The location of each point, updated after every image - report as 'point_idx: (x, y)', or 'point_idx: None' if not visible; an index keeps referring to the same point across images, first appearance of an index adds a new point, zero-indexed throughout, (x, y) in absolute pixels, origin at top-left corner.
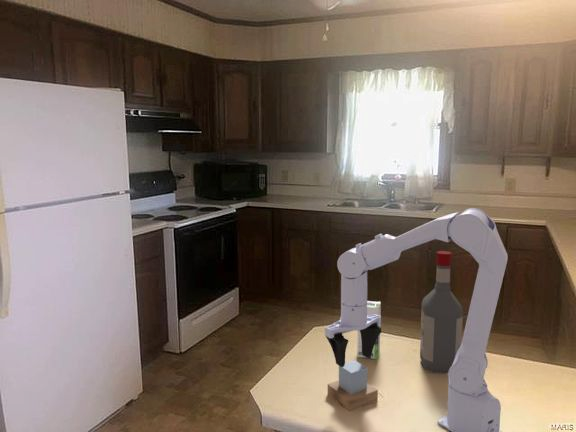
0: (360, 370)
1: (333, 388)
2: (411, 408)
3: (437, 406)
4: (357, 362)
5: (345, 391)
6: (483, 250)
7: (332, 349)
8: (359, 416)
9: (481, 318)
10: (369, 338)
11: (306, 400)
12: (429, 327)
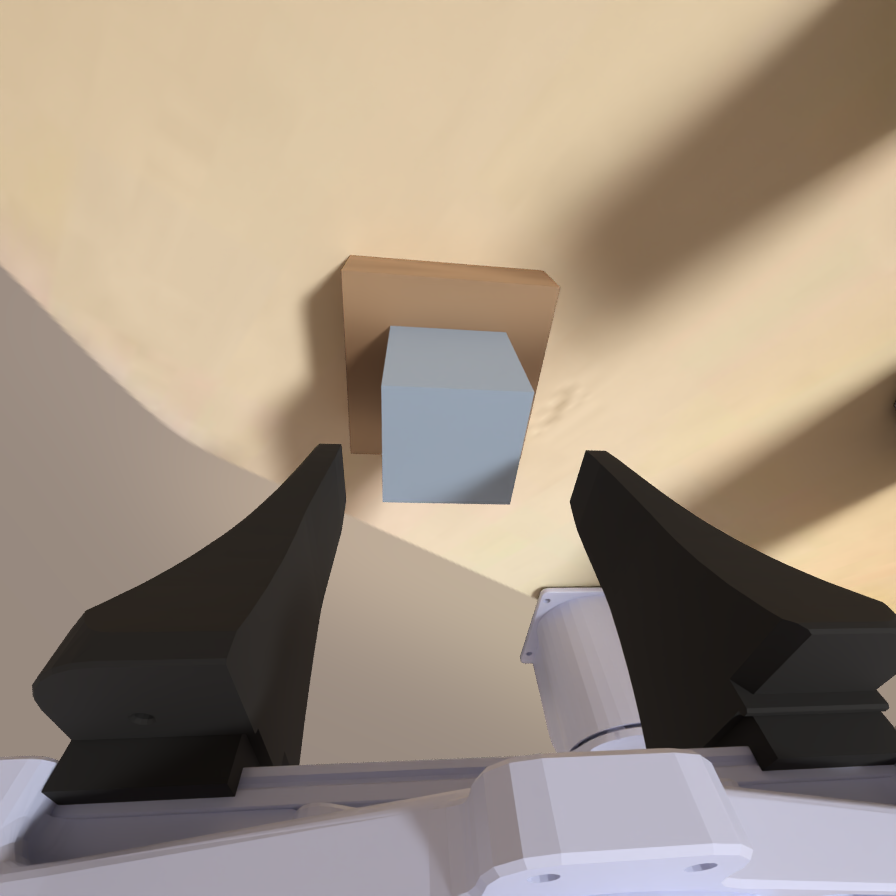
0: (455, 502)
1: (345, 330)
2: (558, 517)
3: None
4: (521, 429)
5: None
6: None
7: (250, 515)
8: (369, 465)
9: None
10: (639, 644)
11: (203, 230)
12: None
